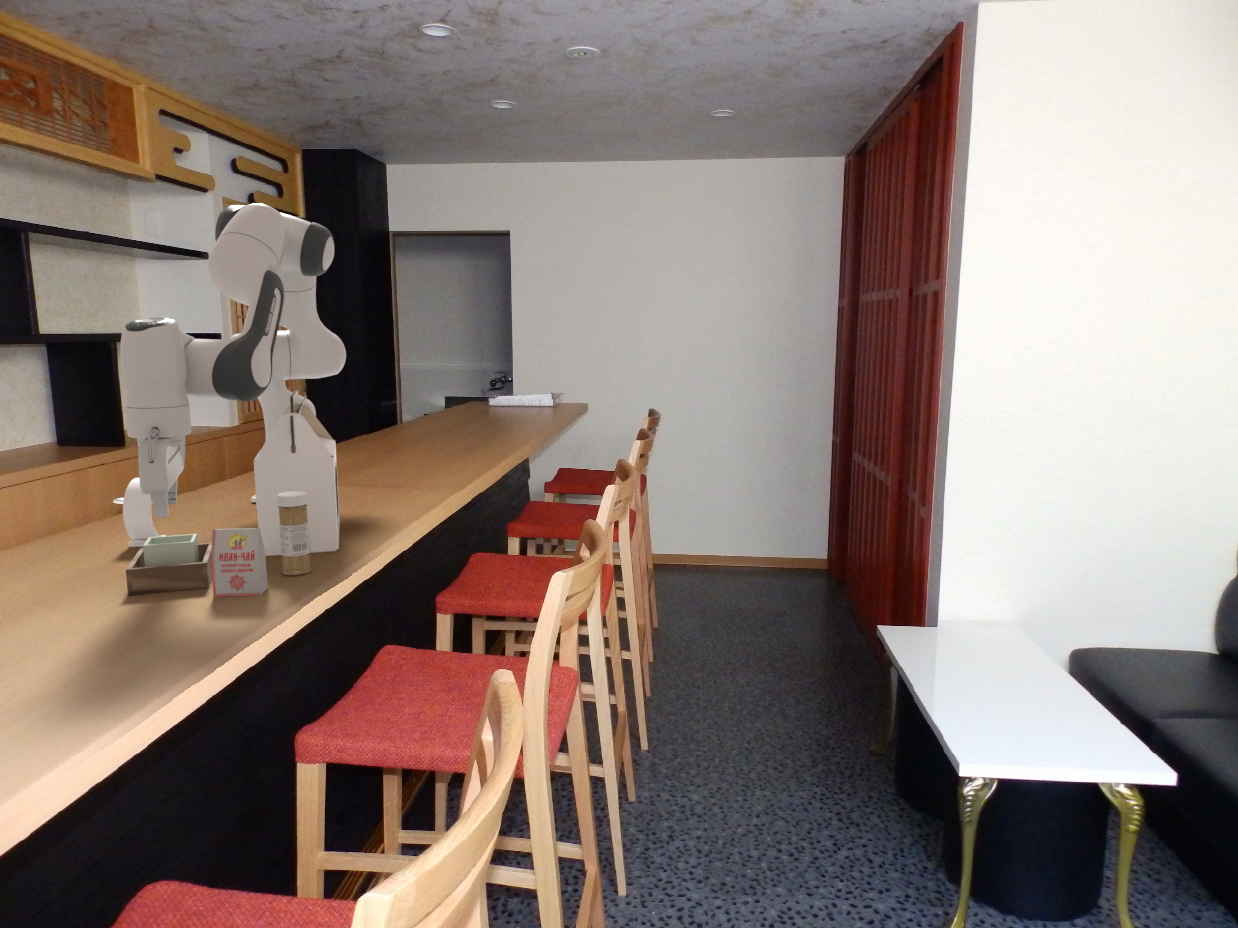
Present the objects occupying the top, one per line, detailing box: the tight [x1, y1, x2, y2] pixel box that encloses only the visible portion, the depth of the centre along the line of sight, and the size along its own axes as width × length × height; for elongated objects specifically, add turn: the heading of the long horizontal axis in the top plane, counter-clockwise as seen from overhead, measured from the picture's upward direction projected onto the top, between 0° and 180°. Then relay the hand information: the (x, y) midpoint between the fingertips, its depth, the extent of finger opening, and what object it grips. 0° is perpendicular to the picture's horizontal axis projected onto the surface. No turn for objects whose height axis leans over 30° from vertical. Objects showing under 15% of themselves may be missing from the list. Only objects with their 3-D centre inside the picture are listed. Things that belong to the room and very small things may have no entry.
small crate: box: [142, 533, 199, 567], centre depth 134 cm, size 7×6×6 cm
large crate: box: [125, 542, 212, 596], centre depth 134 cm, size 13×11×4 cm
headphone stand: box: [122, 477, 167, 548], centre depth 155 cm, size 5×6×12 cm
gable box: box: [252, 389, 341, 557], centre depth 158 cm, size 22×13×28 cm, turn 18°
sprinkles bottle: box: [277, 491, 312, 576], centre depth 137 cm, size 5×5×14 cm
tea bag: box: [211, 527, 268, 598], centre depth 128 cm, size 4×7×10 cm, turn 96°
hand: (166, 510), depth 133 cm, fingers open, 8 cm apart
